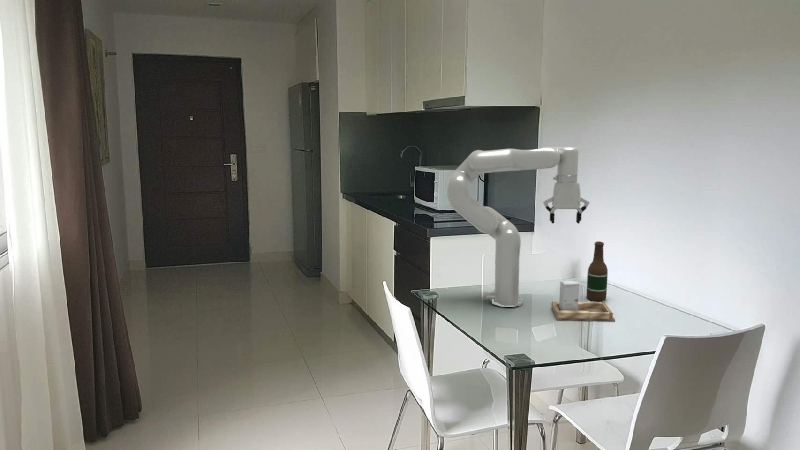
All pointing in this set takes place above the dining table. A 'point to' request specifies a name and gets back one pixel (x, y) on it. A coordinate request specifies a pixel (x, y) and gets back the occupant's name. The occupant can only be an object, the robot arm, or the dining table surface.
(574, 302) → the skincare box
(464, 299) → the dining table surface
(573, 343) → the dining table surface
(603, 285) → the beer bottle
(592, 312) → the wooden tray
